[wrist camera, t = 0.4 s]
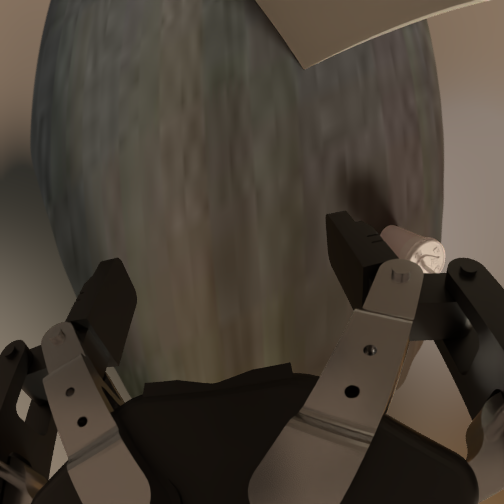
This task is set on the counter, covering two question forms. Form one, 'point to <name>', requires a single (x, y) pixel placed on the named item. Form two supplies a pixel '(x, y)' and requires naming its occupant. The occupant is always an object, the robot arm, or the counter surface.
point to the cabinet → (345, 22)
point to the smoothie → (415, 248)
